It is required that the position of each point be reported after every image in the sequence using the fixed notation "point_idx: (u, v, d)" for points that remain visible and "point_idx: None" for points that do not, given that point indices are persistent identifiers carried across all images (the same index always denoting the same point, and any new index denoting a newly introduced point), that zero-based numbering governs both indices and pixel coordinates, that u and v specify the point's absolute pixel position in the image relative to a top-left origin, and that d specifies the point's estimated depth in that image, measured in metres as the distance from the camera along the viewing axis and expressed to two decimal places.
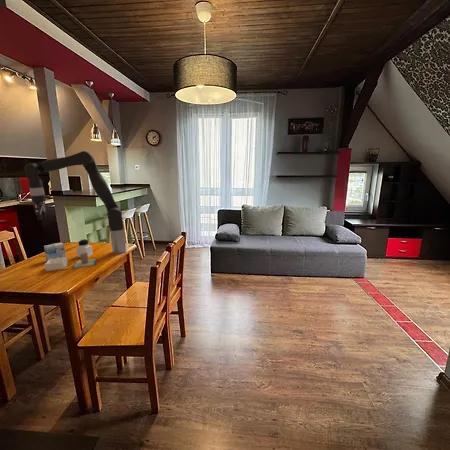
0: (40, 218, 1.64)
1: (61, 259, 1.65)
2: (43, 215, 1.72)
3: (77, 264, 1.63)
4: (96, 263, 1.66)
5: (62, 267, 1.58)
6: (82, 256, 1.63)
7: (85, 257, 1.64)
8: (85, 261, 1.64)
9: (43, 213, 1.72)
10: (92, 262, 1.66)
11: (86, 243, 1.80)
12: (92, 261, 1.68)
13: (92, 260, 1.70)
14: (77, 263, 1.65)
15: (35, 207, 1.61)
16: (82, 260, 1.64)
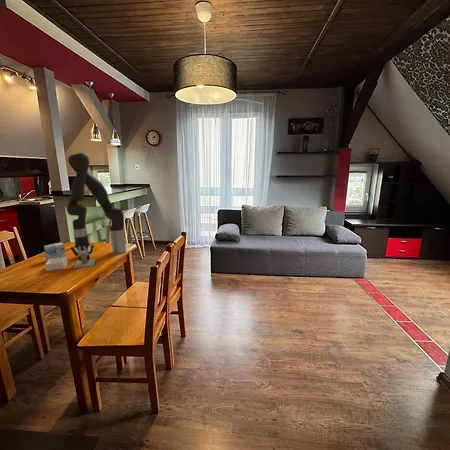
0: (89, 258, 1.67)
1: (61, 259, 1.65)
2: None
3: (77, 264, 1.63)
4: (96, 263, 1.66)
5: (62, 267, 1.58)
6: (82, 256, 1.63)
7: (85, 257, 1.64)
8: (85, 261, 1.64)
9: None
10: (92, 262, 1.66)
11: None
12: (92, 261, 1.68)
13: (92, 260, 1.70)
14: (77, 263, 1.65)
15: (93, 247, 1.66)
16: (82, 260, 1.64)
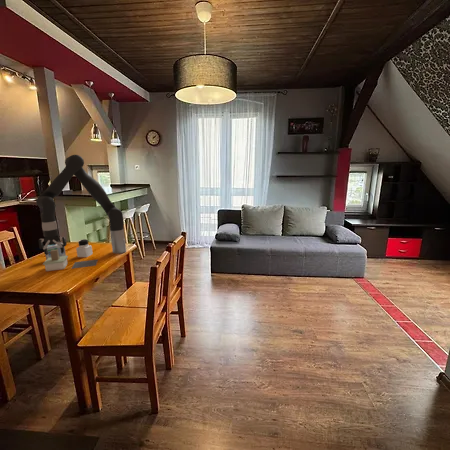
0: (63, 250, 1.61)
1: None
2: (47, 252, 1.57)
3: (47, 261, 1.57)
4: (96, 263, 1.66)
5: (62, 267, 1.58)
6: (52, 252, 1.57)
7: (55, 254, 1.58)
8: (55, 258, 1.58)
9: (46, 249, 1.57)
10: (63, 259, 1.60)
11: (86, 243, 1.80)
12: (63, 258, 1.62)
13: (64, 257, 1.63)
14: (47, 260, 1.59)
15: (64, 239, 1.59)
16: (52, 257, 1.57)
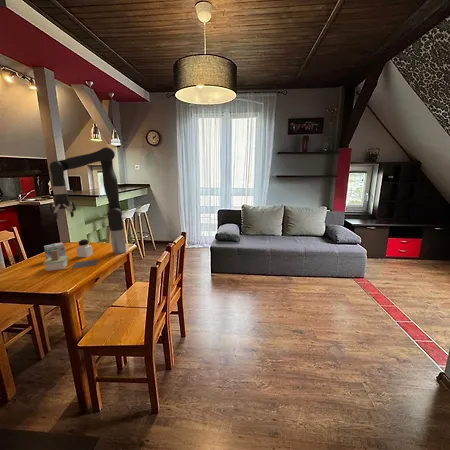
0: (73, 215, 1.68)
1: None
2: (57, 215, 1.65)
3: (47, 261, 1.57)
4: (96, 263, 1.66)
5: (62, 267, 1.58)
6: (52, 252, 1.57)
7: (55, 254, 1.58)
8: (55, 258, 1.58)
9: (57, 213, 1.65)
10: (63, 259, 1.60)
11: (86, 243, 1.80)
12: (63, 258, 1.62)
13: (64, 257, 1.63)
14: (47, 260, 1.59)
15: (74, 204, 1.66)
16: (52, 257, 1.57)
